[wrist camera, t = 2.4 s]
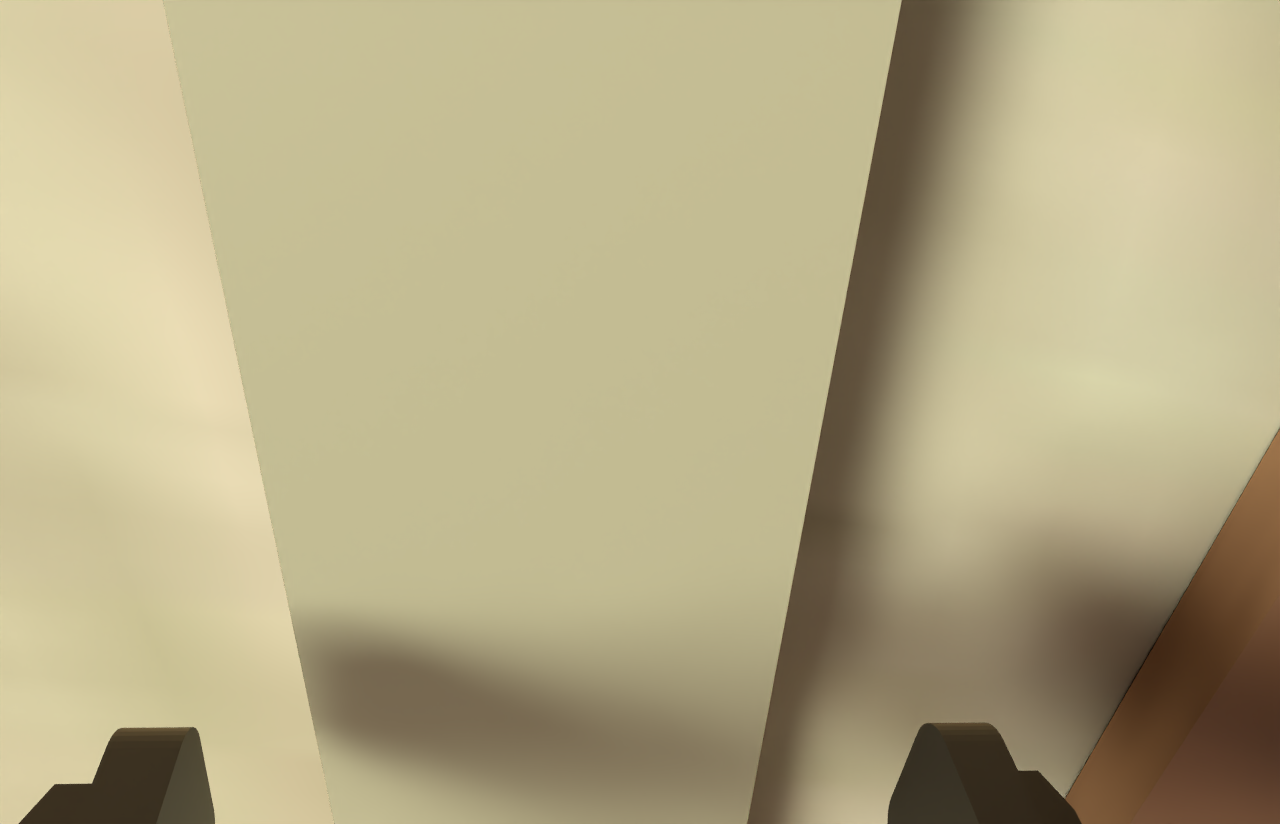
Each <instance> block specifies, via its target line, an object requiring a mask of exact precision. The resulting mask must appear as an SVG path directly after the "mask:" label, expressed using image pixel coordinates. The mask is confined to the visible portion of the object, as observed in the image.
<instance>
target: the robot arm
mask: <svg viewBox="0 0 1280 824" xmlns="http://www.w3.org/2000/svg"><path fill="white" fill-rule="evenodd" d="M19 824H215V816H214V808H213V803H212V798H211V793H210V788H209V782H208V777H207V772H206V767H205V762H204V757H203V752H202V746H201V741H200V737H199V733H198V731H197V729H196V728H194V727H179V728H120V729H118V730H117V731H116V732H115V733H114V734H113V735H112V737H111V739H110V741H109V742H108V745H107V747H106V749H105V752H104V755H103V757H102V760H101V762H100V765H99V767H98V770H97V772H96V775H95V778H94V780H93V783H92V784H55V785H54V786H53V787H52V788H51V789H50V790H49V791H48V792H47V793H46V794H45V795H44V797H43V798H42V799H41V800H40V801H39V802H38V803H37V804H36V805H35V806H34V807H33V809H32V810H31V811H30V812H29V813H28V814H27V815H26V816H25V817H24V818H23V820H22V821H21V822H20V823H19ZM888 824H1082V823H1081V821H1080V819H1079V817H1078V815H1077V813H1076V811H1075V810H1074V809H1073V808H1072V806H1071V805H1070V804H1069V803H1068V802H1067V801H1066V800H1065V799H1064V798H1063V797H1062V796H1061V795H1060V794H1059V793H1058V792H1057V791H1056V789H1055V788H1054V787H1053V786H1052V785H1051V784H1050V783H1049V782H1048V781H1047V780H1046V779H1045V778H1044V777H1043V776H1042V775H1041V773H1040V772H1039V771H1018V770H1017V768H1016V766H1015V764H1014V761H1013V759H1012V757H1011V755H1010V753H1009V751H1008V749H1007V747H1006V745H1005V743H1004V740H1003V739H1002V737H1001V735H1000V733H999V732H998V731H997V729H996V728H995V727H993V726H992V725H991V724H989V723H927V724H924V725H923V726H922V727H921V728H920V729H919V731H918V733H917V736H916V738H915V741H914V743H913V746H912V748H911V751H910V753H909V755H908V758H907V760H906V763H905V765H904V768H903V770H902V773H901V775H900V778H899V780H898V782H897V785H896V787H895V790H894V792H893V795H892V797H891V800H890V804H889V809H888Z"/></svg>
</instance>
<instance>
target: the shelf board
mask: <svg viewBox="0 0 1280 824" xmlns="http://www.w3.org/2000/svg"><path fill="white" fill-rule="evenodd" d="M901 1H902V0H163V4H164V9H165V14H166V18H167V23H168V28H169V33H170V38H171V42H172V47H173V52H174V57H175V62H176V66H177V71H178V76H179V81H180V86H181V90H182V95H183V100H184V105H185V110H186V115H187V119H188V124H189V129H190V134H191V139H192V143H193V148H194V153H195V158H196V163H197V167H198V172H199V177H200V182H201V187H202V191H203V196H204V201H205V206H206V211H207V215H208V220H209V225H210V230H211V235H212V240H213V244H214V249H215V254H216V259H217V264H218V268H219V273H220V278H221V283H222V288H223V292H224V297H225V302H226V307H227V312H228V316H229V321H230V326H231V331H232V336H233V340H234V345H235V350H236V355H237V360H238V365H239V369H240V374H241V379H242V384H243V389H244V393H245V398H246V403H247V408H248V413H249V417H250V422H251V427H252V432H253V437H254V441H255V446H256V451H257V456H258V461H259V465H260V470H261V475H262V480H263V485H264V490H265V494H266V499H267V504H268V509H269V514H270V518H271V523H272V528H273V533H274V538H275V542H276V547H277V552H278V557H279V562H280V566H281V571H282V576H283V581H284V586H285V590H286V595H287V600H288V605H289V610H290V614H291V619H292V624H293V629H294V634H295V639H296V643H297V648H298V653H299V658H300V663H301V667H302V672H303V677H304V682H305V687H306V691H307V696H308V701H309V706H310V711H311V715H312V720H313V725H314V730H315V735H316V739H317V744H318V749H319V754H320V759H321V764H322V768H323V773H324V778H325V783H326V788H327V792H328V797H329V802H330V807H331V812H332V816H333V821H334V824H747V821H748V816H749V811H750V805H751V800H752V795H753V789H754V784H755V779H756V773H757V768H758V763H759V757H760V752H761V747H762V741H763V736H764V731H765V725H766V720H767V715H768V710H769V704H770V699H771V694H772V688H773V683H774V678H775V672H776V667H777V662H778V656H779V651H780V646H781V640H782V635H783V630H784V624H785V619H786V614H787V608H788V603H789V598H790V592H791V587H792V582H793V576H794V571H795V566H796V560H797V555H798V550H799V544H800V539H801V534H802V528H803V523H804V518H805V513H806V507H807V502H808V497H809V491H810V486H811V481H812V475H813V470H814V465H815V459H816V454H817V449H818V443H819V438H820V433H821V427H822V422H823V417H824V411H825V406H826V401H827V395H828V390H829V385H830V379H831V374H832V369H833V363H834V358H835V353H836V347H837V342H838V337H839V331H840V326H841V321H842V316H843V310H844V305H845V300H846V294H847V289H848V284H849V278H850V273H851V268H852V262H853V257H854V252H855V246H856V241H857V236H858V230H859V225H860V220H861V214H862V209H863V204H864V198H865V193H866V188H867V182H868V177H869V172H870V166H871V161H872V156H873V150H874V145H875V140H876V134H877V129H878V124H879V119H880V113H881V108H882V103H883V97H884V92H885V87H886V81H887V76H888V71H889V65H890V60H891V55H892V49H893V44H894V39H895V33H896V28H897V23H898V17H899V12H900V7H901Z"/></svg>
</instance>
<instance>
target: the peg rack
mask: <svg viewBox="0 0 1280 824" xmlns="http://www.w3.org/2000/svg"><path fill="white" fill-rule="evenodd" d="M1065 800H1066V801H1067V802H1068V803H1069V804H1070V805H1071V806H1072V808H1073V809H1074V810H1075V811H1076V813H1077V815H1078V817H1079V819H1080V821H1081V823H1082V824H1280V429H1279V431H1278V433H1277V434H1276V436H1275V438H1274V440H1273V441H1272V443H1271V445H1270V447H1269V448H1268V450H1267V452H1266V453H1265V455H1264V457H1263V459H1262V460H1261V462H1260V464H1259V466H1258V467H1257V469H1256V471H1255V472H1254V474H1253V476H1252V478H1251V479H1250V481H1249V483H1248V485H1247V486H1246V488H1245V490H1244V491H1243V493H1242V495H1241V497H1240V498H1239V500H1238V502H1237V503H1236V505H1235V507H1234V509H1233V510H1232V512H1231V514H1230V516H1229V517H1228V519H1227V521H1226V522H1225V524H1224V526H1223V528H1222V529H1221V531H1220V533H1219V535H1218V536H1217V538H1216V540H1215V541H1214V543H1213V545H1212V547H1211V548H1210V550H1209V552H1208V554H1207V555H1206V557H1205V559H1204V560H1203V562H1202V564H1201V566H1200V567H1199V569H1198V571H1197V572H1196V574H1195V576H1194V578H1193V579H1192V581H1191V583H1190V585H1189V586H1188V588H1187V590H1186V591H1185V593H1184V595H1183V597H1182V598H1181V600H1180V602H1179V604H1178V605H1177V607H1176V609H1175V610H1174V612H1173V614H1172V616H1171V617H1170V619H1169V621H1168V623H1167V624H1166V626H1165V628H1164V629H1163V631H1162V633H1161V635H1160V636H1159V638H1158V640H1157V641H1156V643H1155V645H1154V647H1153V648H1152V650H1151V652H1150V654H1149V655H1148V657H1147V659H1146V660H1145V662H1144V664H1143V666H1142V667H1141V669H1140V671H1139V673H1138V674H1137V676H1136V678H1135V679H1134V681H1133V683H1132V685H1131V686H1130V688H1129V690H1128V692H1127V693H1126V695H1125V697H1124V698H1123V700H1122V702H1121V704H1120V705H1119V707H1118V709H1117V711H1116V712H1115V714H1114V716H1113V717H1112V719H1111V721H1110V723H1109V724H1108V726H1107V728H1106V729H1105V731H1104V733H1103V735H1102V736H1101V738H1100V740H1099V742H1098V743H1097V745H1096V747H1095V748H1094V750H1093V752H1092V754H1091V755H1090V757H1089V759H1088V761H1087V762H1086V764H1085V766H1084V767H1083V769H1082V771H1081V773H1080V774H1079V776H1078V778H1077V780H1076V781H1075V783H1074V785H1073V786H1072V788H1071V790H1070V792H1069V793H1068V795H1067V797H1066V798H1065Z"/></svg>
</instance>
